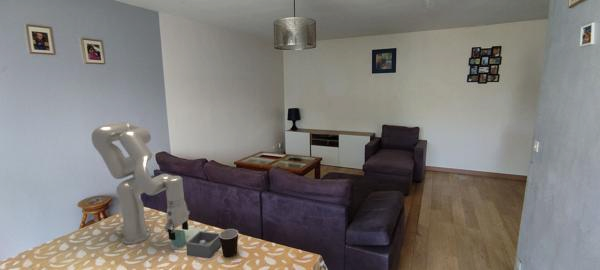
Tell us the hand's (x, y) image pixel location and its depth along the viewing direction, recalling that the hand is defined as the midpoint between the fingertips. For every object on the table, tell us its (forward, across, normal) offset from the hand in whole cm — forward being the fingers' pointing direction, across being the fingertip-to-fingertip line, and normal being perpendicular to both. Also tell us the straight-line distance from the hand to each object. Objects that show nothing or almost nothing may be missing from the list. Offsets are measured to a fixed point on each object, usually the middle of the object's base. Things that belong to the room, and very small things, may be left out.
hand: (179, 234), depth 137 cm
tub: (+5, -2, -15) cm, 16 cm away
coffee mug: (+6, 0, -28) cm, 29 cm away
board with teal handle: (+5, +6, 0) cm, 8 cm away
